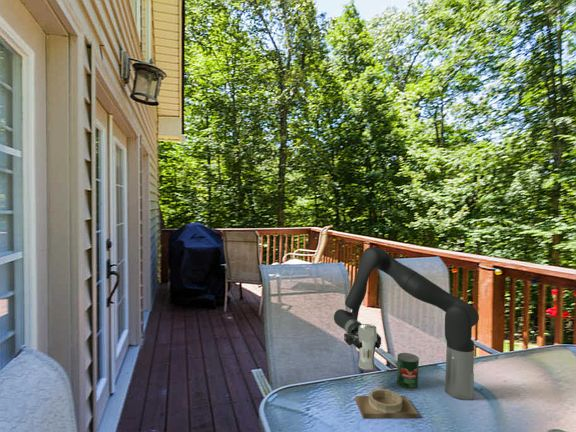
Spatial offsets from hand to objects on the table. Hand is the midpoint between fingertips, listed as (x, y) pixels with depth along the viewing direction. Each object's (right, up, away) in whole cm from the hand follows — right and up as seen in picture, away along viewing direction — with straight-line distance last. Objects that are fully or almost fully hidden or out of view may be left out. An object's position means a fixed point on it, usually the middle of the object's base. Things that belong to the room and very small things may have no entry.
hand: (369, 346), depth 133 cm
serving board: (+3, -17, -11) cm, 21 cm away
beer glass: (0, -9, +2) cm, 9 cm away
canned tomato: (+16, -17, +6) cm, 24 cm away
